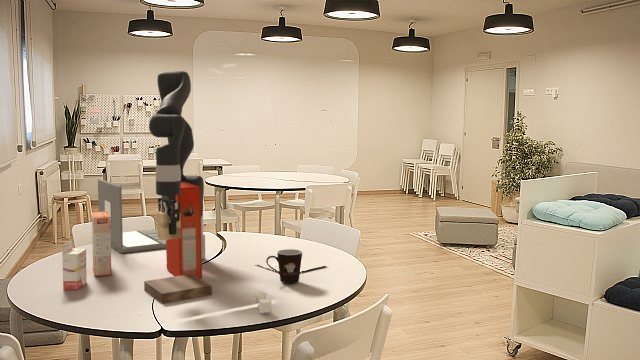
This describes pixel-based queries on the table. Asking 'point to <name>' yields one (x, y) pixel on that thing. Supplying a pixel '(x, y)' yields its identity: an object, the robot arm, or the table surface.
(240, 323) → the table surface
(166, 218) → the oak block
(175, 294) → the walnut base
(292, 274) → the coffee mug
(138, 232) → the laptop
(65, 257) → the ink cartridge box
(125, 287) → the table surface
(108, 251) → the cracker box
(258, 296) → the game pieces
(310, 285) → the table surface
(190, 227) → the file binder
